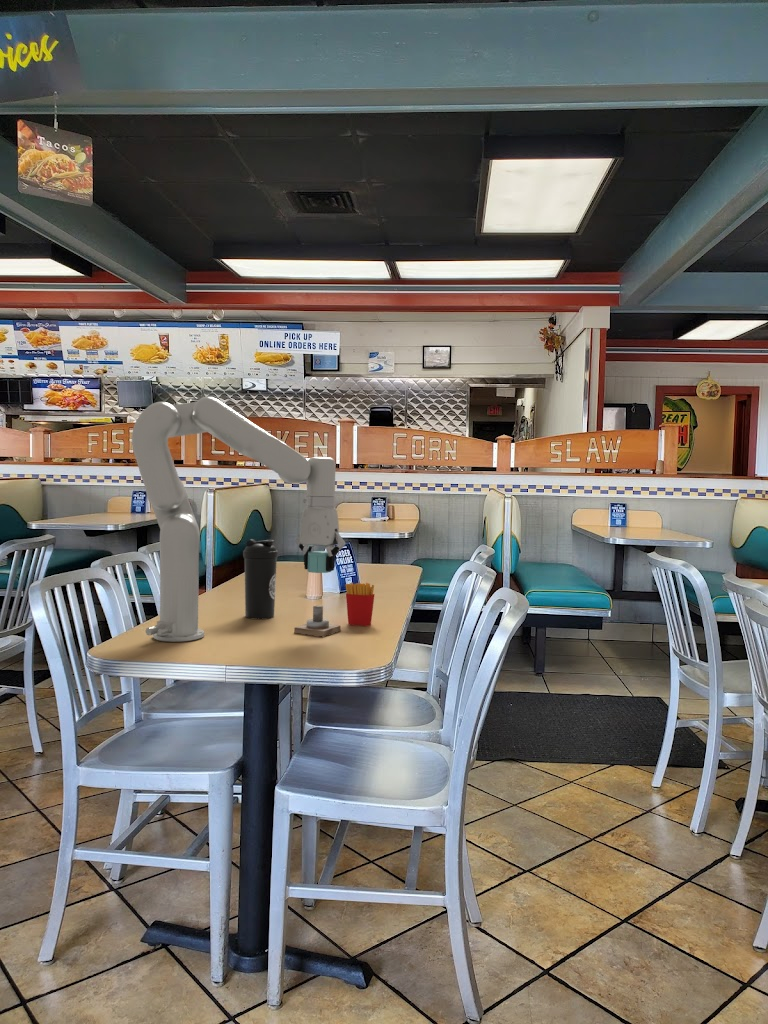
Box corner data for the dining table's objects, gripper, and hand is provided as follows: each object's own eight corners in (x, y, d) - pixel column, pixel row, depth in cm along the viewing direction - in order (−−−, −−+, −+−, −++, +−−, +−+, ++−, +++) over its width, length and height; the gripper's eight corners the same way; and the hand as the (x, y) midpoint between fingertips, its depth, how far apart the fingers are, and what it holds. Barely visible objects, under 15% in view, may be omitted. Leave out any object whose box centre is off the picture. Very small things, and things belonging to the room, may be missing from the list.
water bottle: (273, 619, 207) (275, 541, 206) (239, 619, 208) (240, 540, 207) (279, 613, 217) (280, 538, 217) (246, 612, 218) (247, 538, 217)
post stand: (322, 637, 186) (323, 610, 186) (294, 633, 190) (294, 607, 190) (340, 631, 194) (340, 605, 194) (312, 627, 198) (313, 602, 198)
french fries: (374, 623, 205) (375, 582, 204) (372, 626, 201) (373, 584, 201) (345, 622, 206) (346, 581, 206) (342, 624, 202) (343, 583, 202)
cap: (323, 573, 187) (323, 553, 187) (303, 571, 190) (303, 552, 190) (335, 571, 193) (335, 552, 193) (315, 569, 196) (316, 550, 195)
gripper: (286, 502, 191) (284, 568, 192) (341, 504, 183) (339, 573, 184) (301, 501, 198) (300, 566, 199) (355, 504, 190) (353, 571, 191)
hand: (319, 569), depth 191 cm, fingers closed on cap, 6 cm apart
